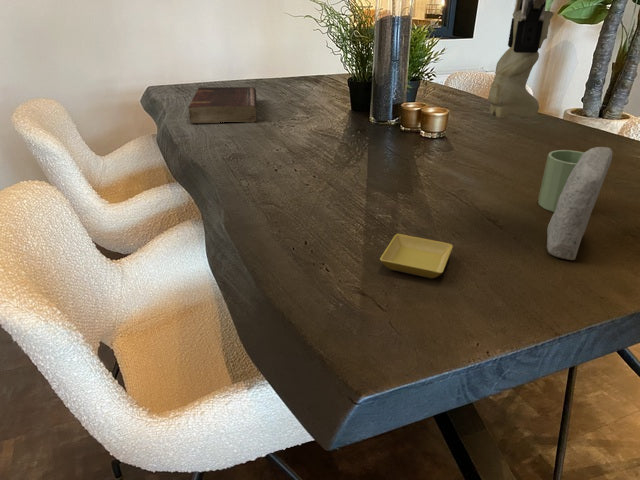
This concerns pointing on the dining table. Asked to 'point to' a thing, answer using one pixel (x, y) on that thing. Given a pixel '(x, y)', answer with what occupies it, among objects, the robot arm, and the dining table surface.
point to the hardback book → (223, 105)
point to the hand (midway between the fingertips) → (522, 48)
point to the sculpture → (515, 78)
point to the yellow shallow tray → (416, 256)
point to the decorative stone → (577, 203)
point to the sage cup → (556, 176)
